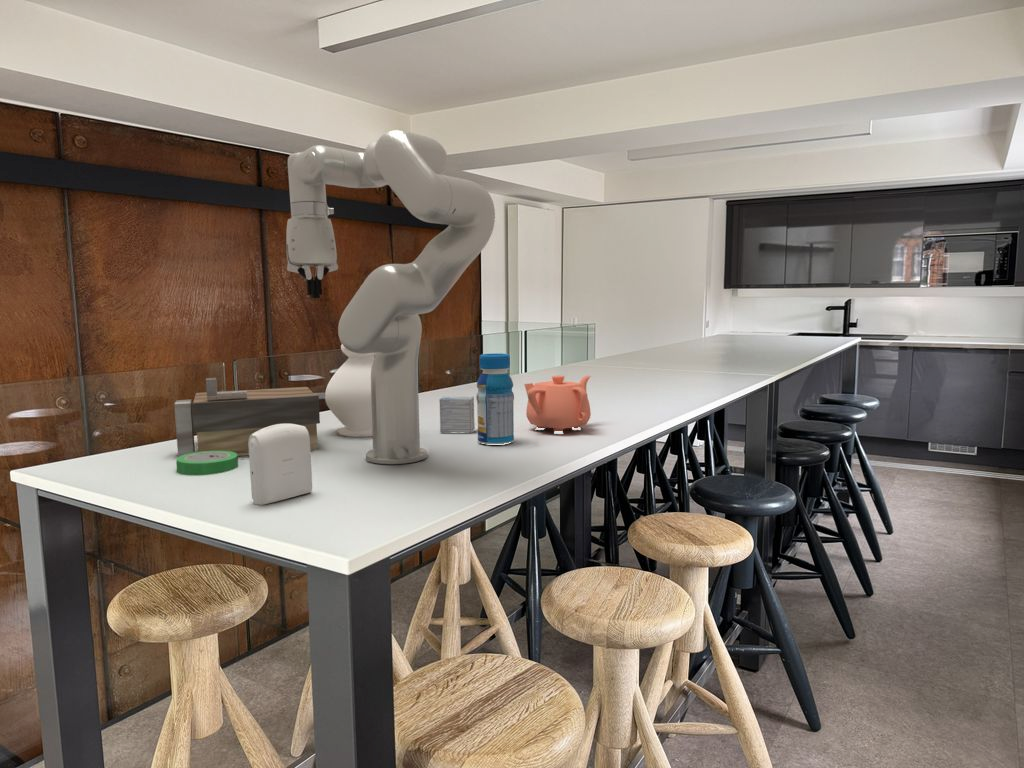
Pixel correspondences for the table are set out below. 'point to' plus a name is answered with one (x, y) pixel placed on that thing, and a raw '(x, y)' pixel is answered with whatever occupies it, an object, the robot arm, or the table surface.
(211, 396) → the brushed metal corner piece
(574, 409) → the teapot
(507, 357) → the beverage bottle
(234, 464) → the tape roll
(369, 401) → the decorative vase
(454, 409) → the medicine box
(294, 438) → the photo printer
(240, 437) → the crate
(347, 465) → the table surface
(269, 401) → the lid
